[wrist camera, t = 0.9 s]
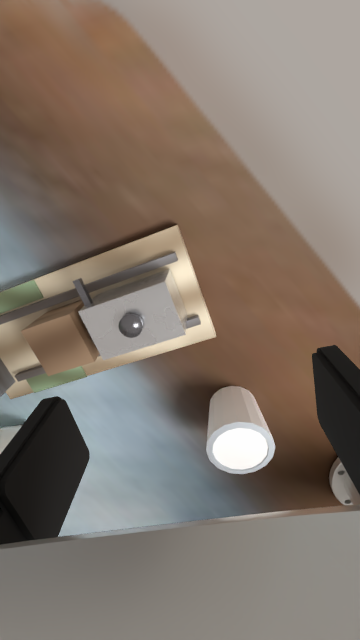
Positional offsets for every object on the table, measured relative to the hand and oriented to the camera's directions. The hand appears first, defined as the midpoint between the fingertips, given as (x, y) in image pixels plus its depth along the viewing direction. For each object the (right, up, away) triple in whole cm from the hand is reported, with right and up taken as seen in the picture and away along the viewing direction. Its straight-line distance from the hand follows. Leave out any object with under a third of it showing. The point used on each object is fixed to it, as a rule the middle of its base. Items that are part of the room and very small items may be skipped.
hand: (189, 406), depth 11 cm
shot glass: (+6, -7, +25) cm, 27 cm away
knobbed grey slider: (-5, +6, +19) cm, 20 cm away
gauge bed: (-11, +3, +22) cm, 24 cm away
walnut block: (-11, +3, +21) cm, 24 cm away
